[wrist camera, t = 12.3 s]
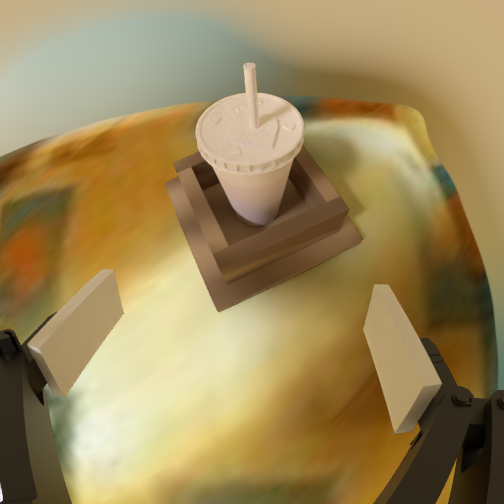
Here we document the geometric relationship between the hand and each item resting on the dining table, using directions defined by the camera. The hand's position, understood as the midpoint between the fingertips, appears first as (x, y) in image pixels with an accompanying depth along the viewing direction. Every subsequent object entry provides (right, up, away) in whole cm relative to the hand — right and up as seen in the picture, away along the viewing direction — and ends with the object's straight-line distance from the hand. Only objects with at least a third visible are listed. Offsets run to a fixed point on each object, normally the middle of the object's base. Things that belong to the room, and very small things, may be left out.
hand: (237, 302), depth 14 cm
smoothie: (+1, +6, +11) cm, 12 cm away
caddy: (+1, +6, +11) cm, 13 cm away
